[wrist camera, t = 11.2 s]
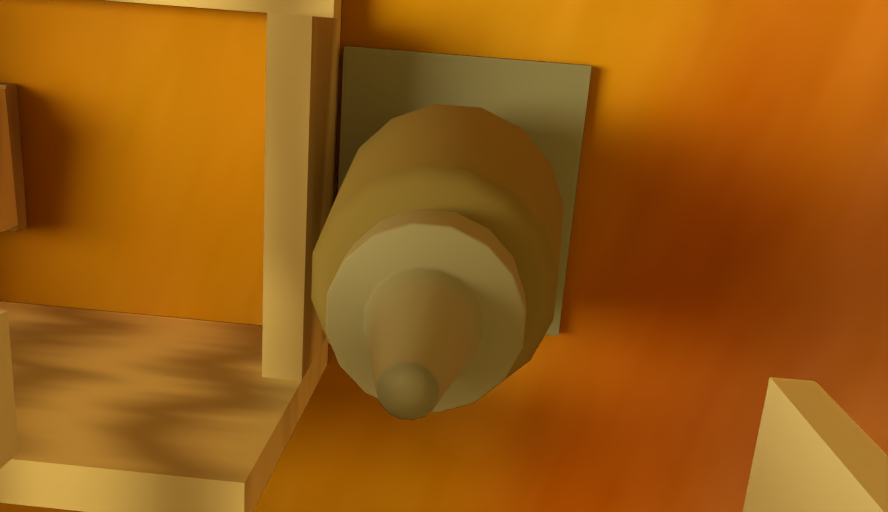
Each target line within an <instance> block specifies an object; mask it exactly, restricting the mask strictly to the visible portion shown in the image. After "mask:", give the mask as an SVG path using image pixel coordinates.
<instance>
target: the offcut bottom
mask: <svg viewBox="0 0 888 512" xmlns="http://www.w3.org/2000/svg"><path fill="white" fill-rule="evenodd" d="M0 88H5V94H6V105H7V115H8V125H9V136H10V146H11V157H12V167H13V178H14V188H15V199H16V209H17V220H18V225H17V226H15V227H12V228H10V229H7V230H9V231H19V230H21V229H24V228H26V227H27V217H26V203H25V189H24V175H23V161H22V148H21V134H20V120H19V106H18V92H17V84H11V83H0Z"/></svg>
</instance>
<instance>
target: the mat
mask: <svg viewBox="0 0 888 512" xmlns="http://www.w3.org/2000/svg"><path fill="white" fill-rule="evenodd" d="M591 67H592V66H590V65H578V64H566V63H553V62H541V61H528V60H516V59H503V58H490V57H478V56H465V55H453V54H440V53H428V52H415V51H403V50H390V49H378V48H365V47H353V46H344V56H343V81H342V106H341V132H340V157H339V182H338V192H339V190H340V187H341V185H342V183H343V181H344V179H345V177H346V175H347V172H348V170H349V168H350V166H351V164H352V162H353V160H354V158H355V155H356V153H357V151H358V149H359V147H361V146H362V145H363V144H364V143H365V142H366V141H367V140H368V139H370V138H371V137H372V136H373V135H374V134H375V133H376V132H377V131H379V130H380V129H381V128H382V127H383V126H384V125H385V124H387V123H388V122H389V121H390V120H391V119H392V118H395V117H398V116H401V115H404V114H407V113H410V112H413V111H416V110H419V109H422V108H425V107H428V106H431V105H434V104H442V105H455V106H468V107H481V108H483V109H485V110H487V111H489V112H491V113H493V114H495V115H497V116H499V117H500V118H502V119H504V120H506V121H508V122H510V123H512V124H514V125H516V126H518V127H520V128H522V129H523V130H524V132H525V133H526V134H527V135H528V136H529V138H530V139H531V140H532V141H533V142H534V144H535V145H536V146H537V147H538V148H539V150H540V151H541V152H542V153H543V154H544V156H545V157H546V158H547V159H548V160H549V162H550V163H551V166H552V169H553V172H554V176H555V179H556V182H557V186H558V189H559V192H560V196H561V199H562V202H563V220H562V234H561V248H560V262H559V275H558V284H557V292H556V301H555V310H554V318H553V322H552V323H551V325H550V327H549V329H548V330H547V332H546V334H545V335H554V336H559V327H560V319H561V311H562V303H563V295H564V287H565V279H566V271H567V262H568V254H569V246H570V238H571V230H572V222H573V214H574V206H575V197H576V189H577V181H578V173H579V165H580V157H581V149H582V141H583V132H584V124H585V116H586V108H587V100H588V92H589V84H590V76H591Z"/></svg>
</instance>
